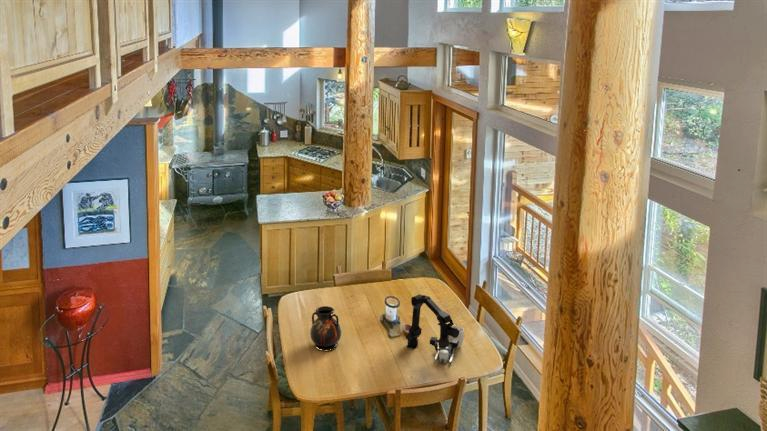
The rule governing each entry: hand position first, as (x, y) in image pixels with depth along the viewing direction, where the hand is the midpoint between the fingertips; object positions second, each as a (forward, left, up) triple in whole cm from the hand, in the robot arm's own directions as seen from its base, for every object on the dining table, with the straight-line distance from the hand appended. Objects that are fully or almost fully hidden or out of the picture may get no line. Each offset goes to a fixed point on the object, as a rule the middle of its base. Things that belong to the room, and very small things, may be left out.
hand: (444, 353), depth 430 cm
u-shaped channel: (-1, +5, -6) cm, 8 cm away
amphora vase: (-83, -1, -6) cm, 83 cm away
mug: (+3, +22, -6) cm, 23 cm away
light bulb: (0, -1, -6) cm, 6 cm away
